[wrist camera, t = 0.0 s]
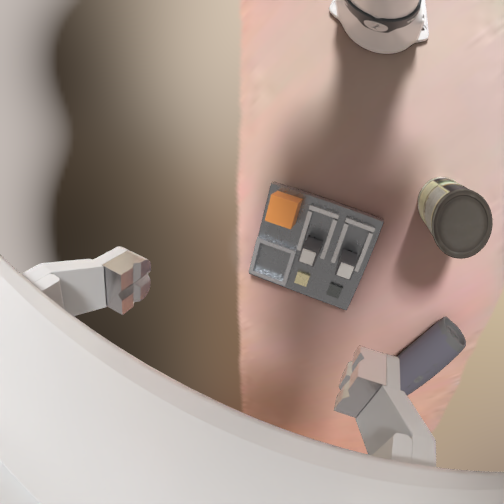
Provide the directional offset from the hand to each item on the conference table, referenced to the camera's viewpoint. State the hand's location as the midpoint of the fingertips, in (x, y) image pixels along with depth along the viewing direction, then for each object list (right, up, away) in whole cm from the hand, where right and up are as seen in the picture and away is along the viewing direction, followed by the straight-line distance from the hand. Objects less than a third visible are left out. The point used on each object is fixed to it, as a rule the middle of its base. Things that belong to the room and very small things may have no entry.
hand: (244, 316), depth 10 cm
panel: (+12, +3, +49) cm, 51 cm away
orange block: (+7, +11, +46) cm, 48 cm away
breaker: (+18, +1, +45) cm, 49 cm away
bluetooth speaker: (+38, -20, +49) cm, 65 cm away
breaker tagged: (+12, +3, +47) cm, 48 cm away
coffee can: (+35, +11, +37) cm, 52 cm away
